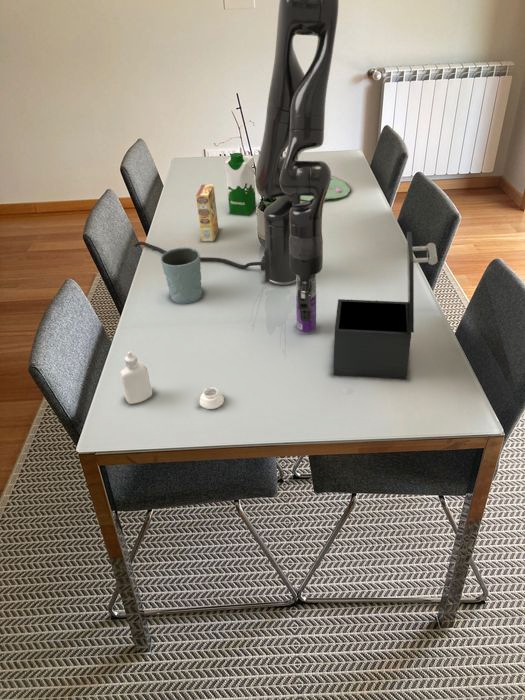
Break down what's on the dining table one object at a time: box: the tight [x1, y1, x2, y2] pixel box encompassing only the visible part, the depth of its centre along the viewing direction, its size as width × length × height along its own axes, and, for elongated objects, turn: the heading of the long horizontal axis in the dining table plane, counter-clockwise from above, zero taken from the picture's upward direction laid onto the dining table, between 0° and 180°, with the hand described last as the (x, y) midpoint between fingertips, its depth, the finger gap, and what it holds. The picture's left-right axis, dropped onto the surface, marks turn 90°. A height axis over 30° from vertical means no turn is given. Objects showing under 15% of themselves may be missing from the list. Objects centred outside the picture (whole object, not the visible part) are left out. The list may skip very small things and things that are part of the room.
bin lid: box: [406, 231, 438, 334], centre depth 122 cm, size 16×13×5 cm
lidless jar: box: [199, 386, 225, 410], centre depth 125 cm, size 5×3×5 cm
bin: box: [332, 298, 412, 380], centre depth 132 cm, size 16×13×12 cm
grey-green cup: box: [160, 246, 203, 305], centre depth 159 cm, size 10×10×12 cm
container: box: [295, 274, 317, 335], centre depth 142 cm, size 5×5×15 cm
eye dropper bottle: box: [119, 351, 153, 405], centre depth 125 cm, size 4×6×12 cm
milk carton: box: [224, 152, 257, 217], centre depth 201 cm, size 9×9×20 cm
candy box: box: [195, 184, 220, 242], centre depth 187 cm, size 9×4×15 cm, turn 174°
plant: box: [301, 175, 351, 201], centre depth 216 cm, size 25×21×9 cm
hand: (306, 314), depth 144 cm, fingers closed on container, 4 cm apart
